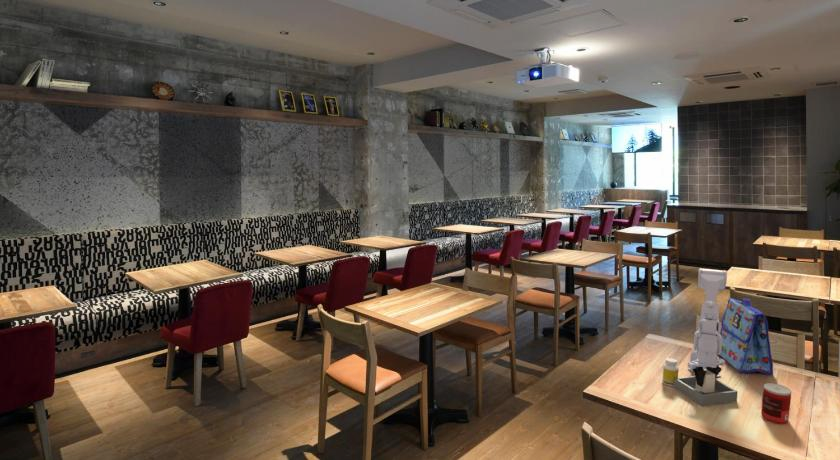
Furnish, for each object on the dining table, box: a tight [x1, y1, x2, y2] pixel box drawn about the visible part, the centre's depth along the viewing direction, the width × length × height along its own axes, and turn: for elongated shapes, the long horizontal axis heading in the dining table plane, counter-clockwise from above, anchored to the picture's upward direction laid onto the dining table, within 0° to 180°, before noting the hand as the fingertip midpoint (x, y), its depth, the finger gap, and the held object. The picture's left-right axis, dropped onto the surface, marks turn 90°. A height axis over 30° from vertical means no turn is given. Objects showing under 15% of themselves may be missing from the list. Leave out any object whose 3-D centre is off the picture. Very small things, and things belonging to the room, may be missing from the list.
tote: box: [673, 375, 738, 407], centre depth 183 cm, size 15×15×4 cm
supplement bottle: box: [661, 357, 680, 387], centre depth 192 cm, size 5×5×10 cm
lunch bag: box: [718, 297, 774, 376], centre depth 208 cm, size 22×14×29 cm, turn 172°
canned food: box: [760, 382, 792, 425], centre depth 165 cm, size 8×8×11 cm
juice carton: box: [696, 369, 715, 393], centre depth 182 cm, size 5×4×8 cm
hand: (704, 384), depth 183 cm, fingers closed on juice carton, 4 cm apart
